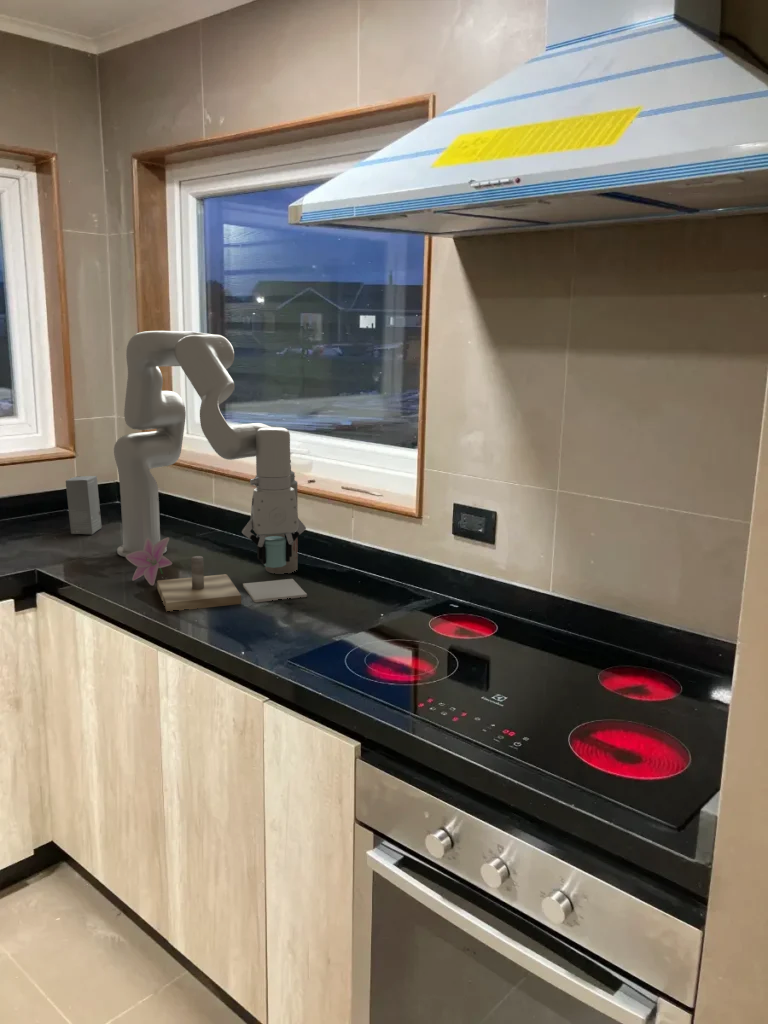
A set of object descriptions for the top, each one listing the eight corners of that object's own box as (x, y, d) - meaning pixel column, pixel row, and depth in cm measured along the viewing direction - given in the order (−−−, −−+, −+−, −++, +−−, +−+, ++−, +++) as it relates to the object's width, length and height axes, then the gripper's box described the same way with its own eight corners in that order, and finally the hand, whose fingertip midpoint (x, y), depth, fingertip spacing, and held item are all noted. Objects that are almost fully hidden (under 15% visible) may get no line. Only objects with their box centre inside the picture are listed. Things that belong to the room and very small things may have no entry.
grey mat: (242, 586, 193) (242, 583, 193) (292, 581, 197) (292, 578, 197) (254, 602, 182) (254, 599, 182) (306, 596, 186) (306, 594, 186)
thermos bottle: (301, 566, 209) (301, 457, 203) (292, 575, 202) (291, 462, 195) (271, 563, 211) (270, 455, 204) (261, 572, 203) (259, 460, 197)
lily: (125, 577, 201) (113, 549, 194) (167, 552, 206) (157, 525, 199) (148, 603, 194) (135, 576, 187) (191, 578, 198) (181, 550, 192)
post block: (157, 588, 189) (155, 551, 187) (226, 582, 195) (225, 545, 193) (166, 611, 175) (165, 571, 173) (241, 603, 181) (240, 564, 179)
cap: (266, 568, 185) (266, 542, 183) (260, 562, 189) (260, 537, 188) (288, 566, 186) (288, 540, 185) (282, 560, 191) (282, 535, 190)
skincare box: (92, 535, 234) (89, 480, 230) (67, 534, 234) (63, 479, 230) (103, 527, 242) (99, 474, 238) (78, 527, 242) (75, 474, 238)
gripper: (239, 488, 177) (241, 569, 181) (315, 483, 183) (315, 562, 188) (232, 482, 184) (234, 560, 188) (305, 477, 190) (305, 553, 194)
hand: (274, 560), depth 188 cm, fingers closed on cap, 4 cm apart
